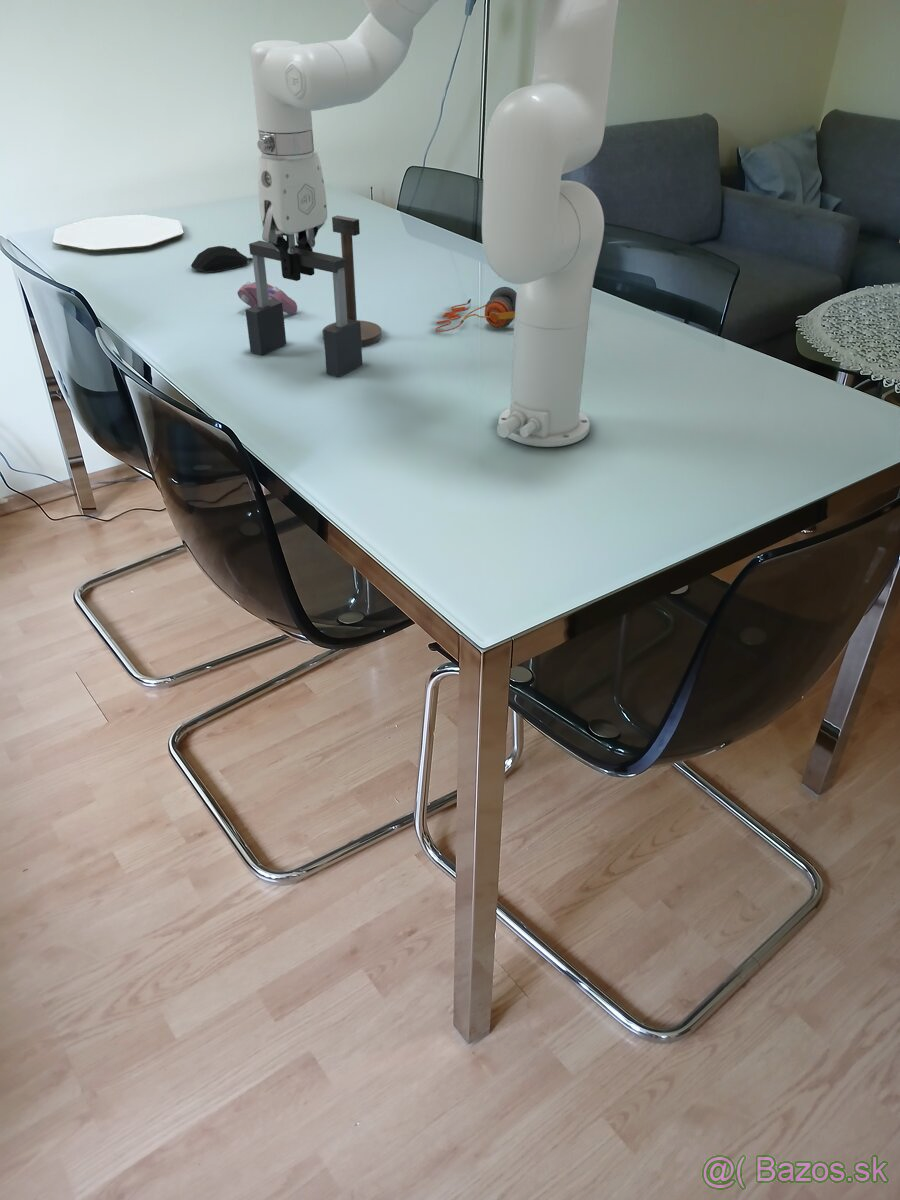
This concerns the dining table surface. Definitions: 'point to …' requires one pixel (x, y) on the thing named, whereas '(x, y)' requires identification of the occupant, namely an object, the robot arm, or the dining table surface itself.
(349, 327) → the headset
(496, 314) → the headphones
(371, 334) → the headphone stand
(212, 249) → the gaming mouse
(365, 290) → the dining table surface
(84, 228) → the plate
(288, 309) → the video game controller
